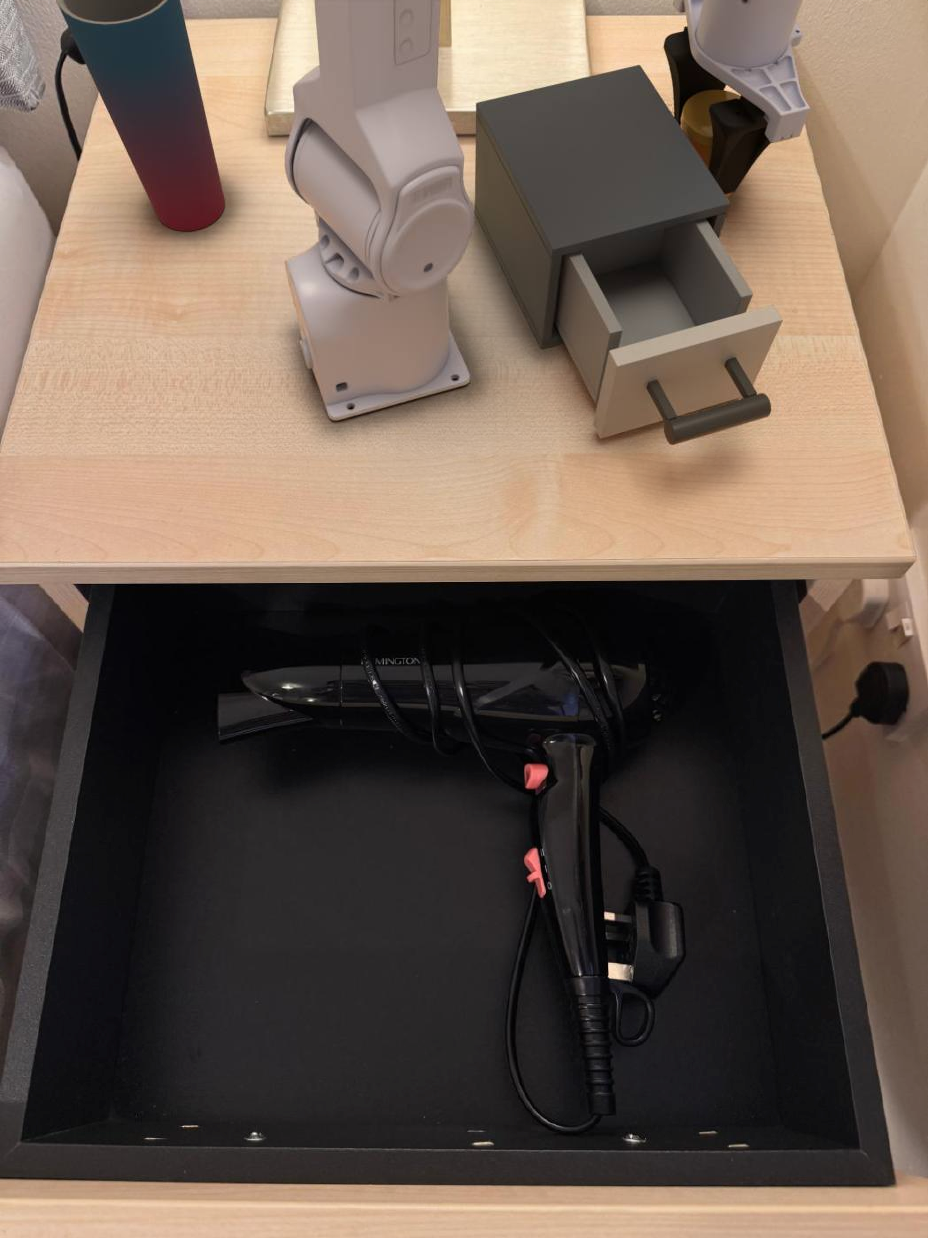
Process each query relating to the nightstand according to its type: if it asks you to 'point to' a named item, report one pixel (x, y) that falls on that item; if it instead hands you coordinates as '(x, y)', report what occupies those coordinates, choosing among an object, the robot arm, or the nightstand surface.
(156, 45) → the cup
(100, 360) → the nightstand surface
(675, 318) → the drawer
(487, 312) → the nightstand surface
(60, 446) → the nightstand surface
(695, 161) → the cabinet
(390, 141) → the robot arm
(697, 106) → the jar
